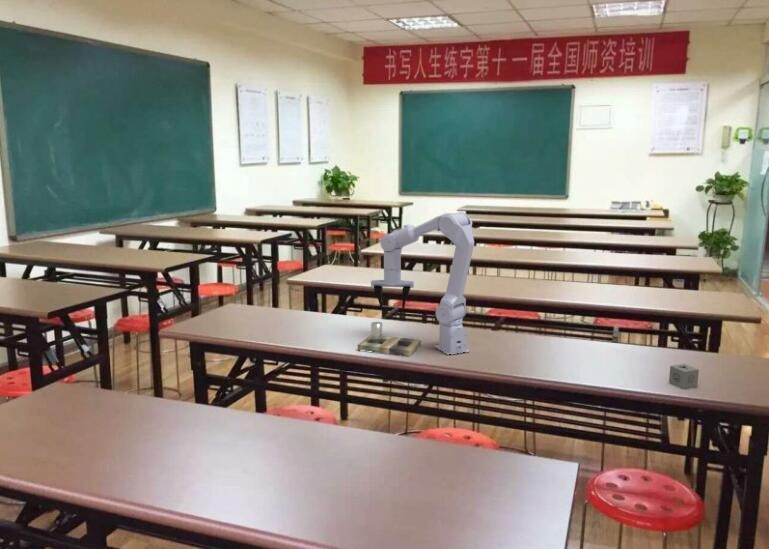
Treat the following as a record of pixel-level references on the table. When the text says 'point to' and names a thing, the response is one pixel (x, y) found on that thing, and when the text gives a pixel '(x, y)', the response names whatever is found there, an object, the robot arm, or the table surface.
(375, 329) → the metal cylinder
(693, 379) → the dice cube
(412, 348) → the tool stand
